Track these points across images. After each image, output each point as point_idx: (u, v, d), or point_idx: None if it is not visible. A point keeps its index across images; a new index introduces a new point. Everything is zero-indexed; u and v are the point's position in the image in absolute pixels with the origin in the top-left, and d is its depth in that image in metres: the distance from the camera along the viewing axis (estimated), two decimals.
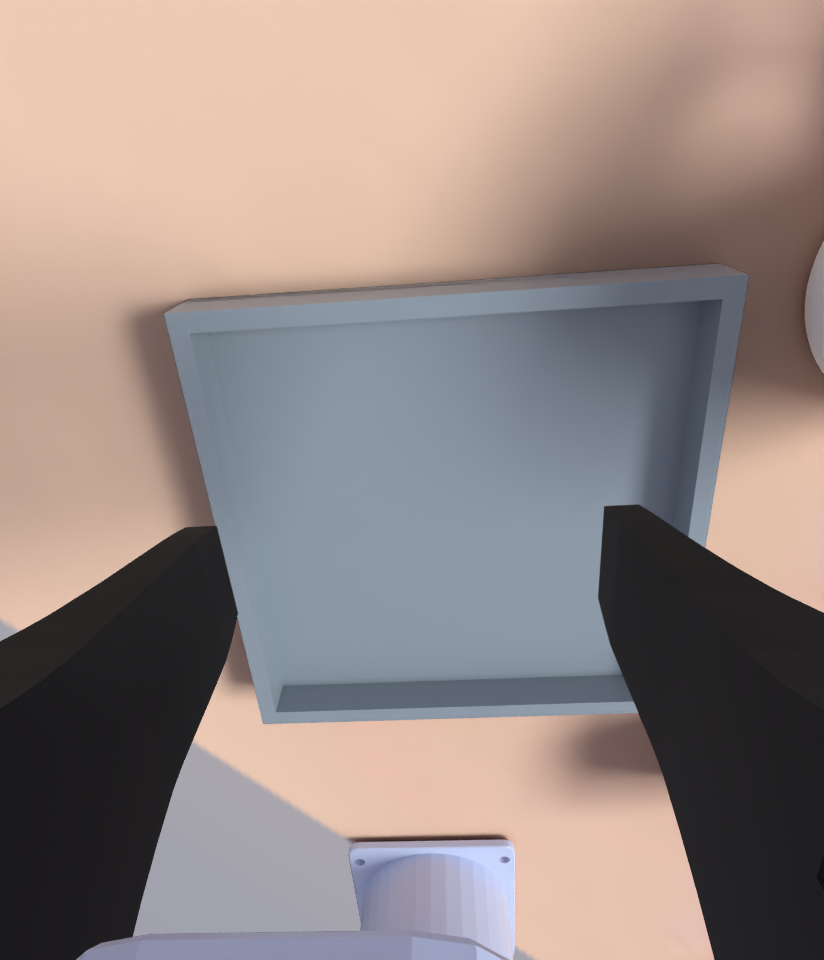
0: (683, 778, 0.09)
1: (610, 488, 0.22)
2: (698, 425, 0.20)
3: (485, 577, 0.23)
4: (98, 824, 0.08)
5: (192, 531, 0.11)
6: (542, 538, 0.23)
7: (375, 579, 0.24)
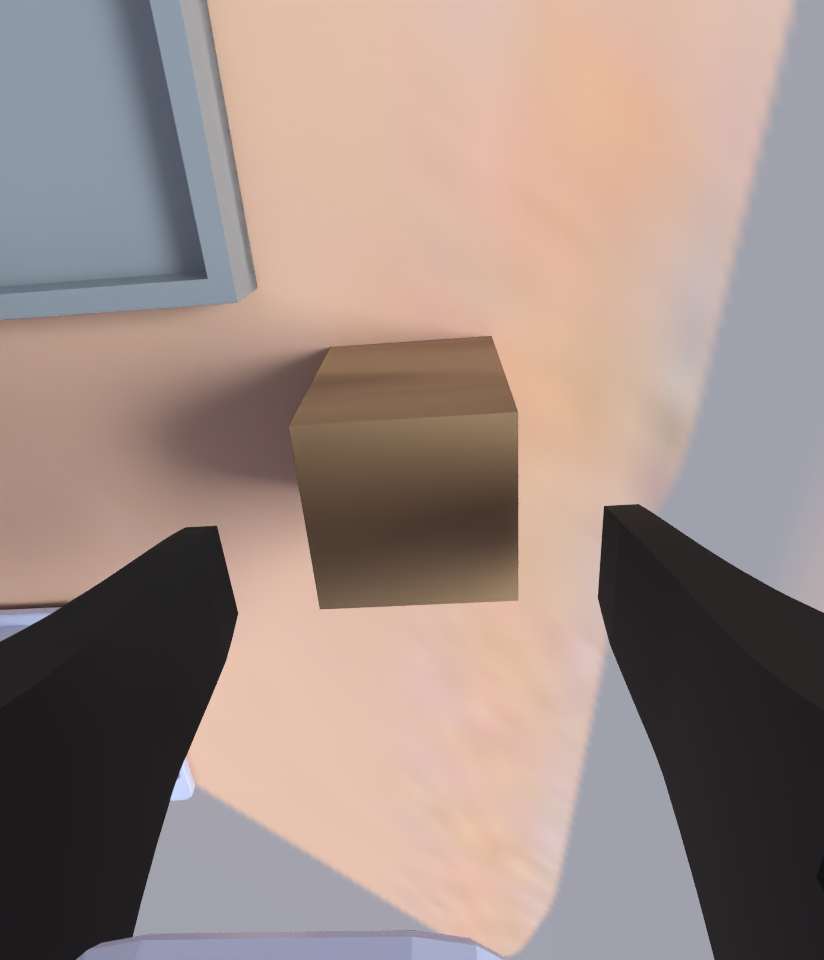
0: (683, 778, 0.09)
1: None
2: None
3: None
4: (98, 824, 0.08)
5: (192, 531, 0.11)
6: None
7: None
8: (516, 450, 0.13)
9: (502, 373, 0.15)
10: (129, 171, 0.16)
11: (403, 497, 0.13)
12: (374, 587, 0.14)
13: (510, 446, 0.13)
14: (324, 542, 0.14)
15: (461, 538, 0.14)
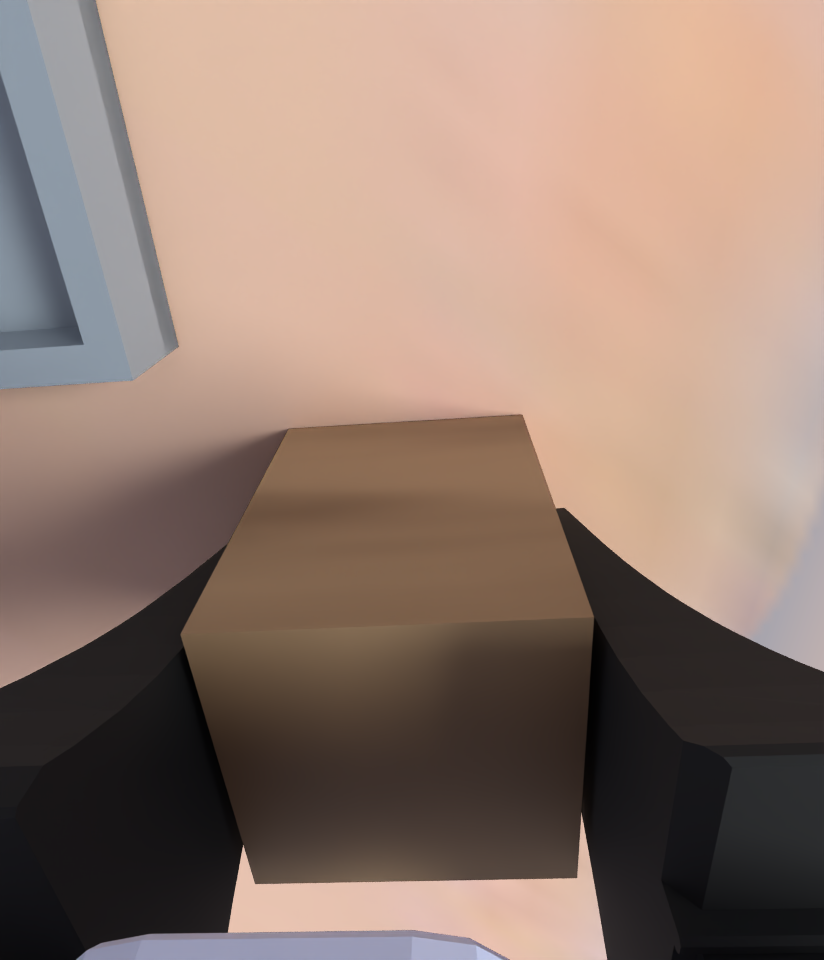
0: (585, 781, 0.09)
1: None
2: None
3: None
4: (200, 822, 0.08)
5: None
6: None
7: None
8: (587, 674, 0.07)
9: (550, 503, 0.09)
10: None
11: (388, 739, 0.08)
12: (342, 858, 0.09)
13: (577, 669, 0.07)
14: (256, 799, 0.08)
15: (486, 795, 0.08)
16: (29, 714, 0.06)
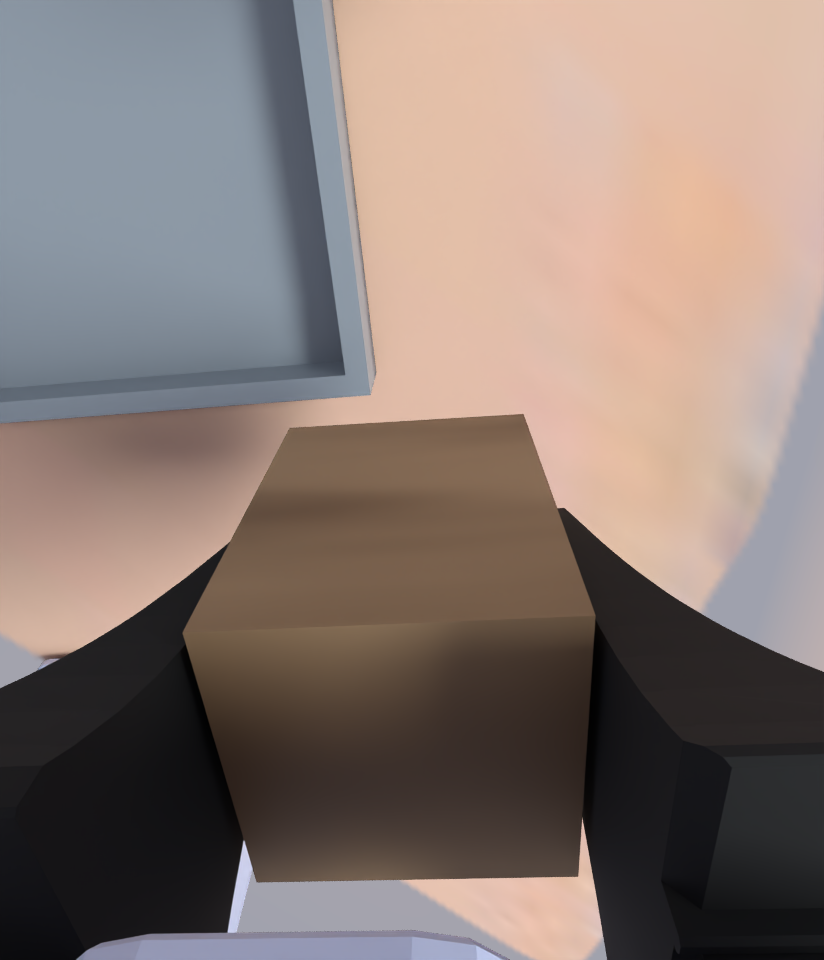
0: (586, 781, 0.09)
1: (208, 12, 0.15)
2: None
3: (77, 194, 0.17)
4: (200, 822, 0.08)
5: None
6: (135, 115, 0.16)
7: None
8: (588, 672, 0.07)
9: (551, 502, 0.09)
10: (271, 279, 0.17)
11: (390, 738, 0.08)
12: (343, 856, 0.09)
13: (579, 668, 0.07)
14: (258, 797, 0.08)
15: (486, 794, 0.08)
16: (28, 714, 0.06)
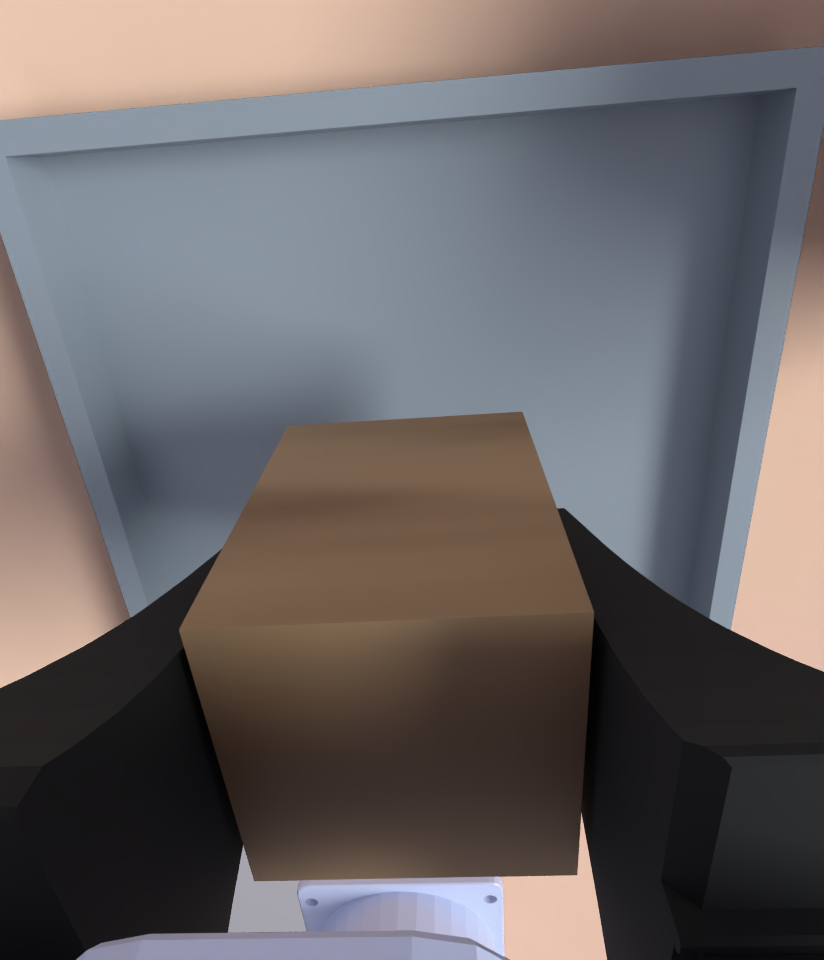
0: (586, 780, 0.09)
1: (624, 406, 0.16)
2: (751, 301, 0.14)
3: None
4: (200, 821, 0.08)
5: None
6: None
7: None
8: (587, 669, 0.07)
9: (550, 499, 0.09)
10: None
11: (388, 736, 0.08)
12: (341, 855, 0.09)
13: (577, 665, 0.07)
14: (255, 795, 0.08)
15: (485, 792, 0.08)
16: (28, 714, 0.06)
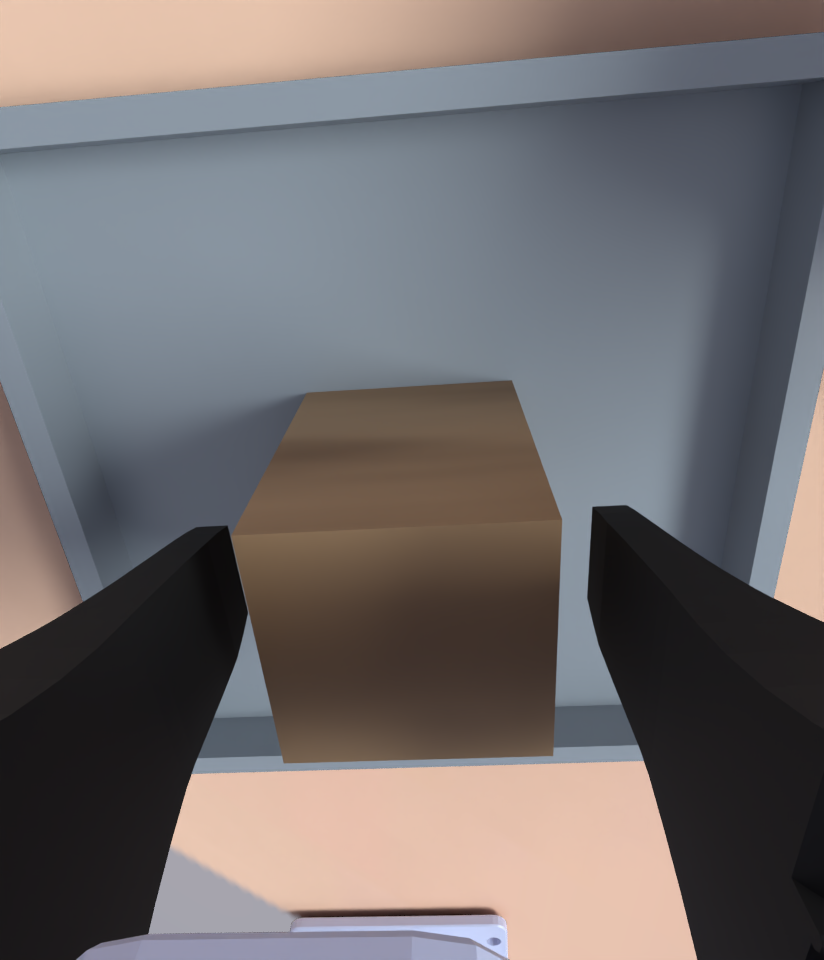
0: (668, 778, 0.09)
1: (643, 428, 0.14)
2: (789, 316, 0.12)
3: None
4: (114, 824, 0.08)
5: (203, 530, 0.11)
6: None
7: None
8: (558, 570, 0.09)
9: (532, 444, 0.11)
10: None
11: (397, 628, 0.09)
12: (357, 738, 0.10)
13: (549, 565, 0.09)
14: (287, 683, 0.10)
15: (477, 680, 0.10)
16: None
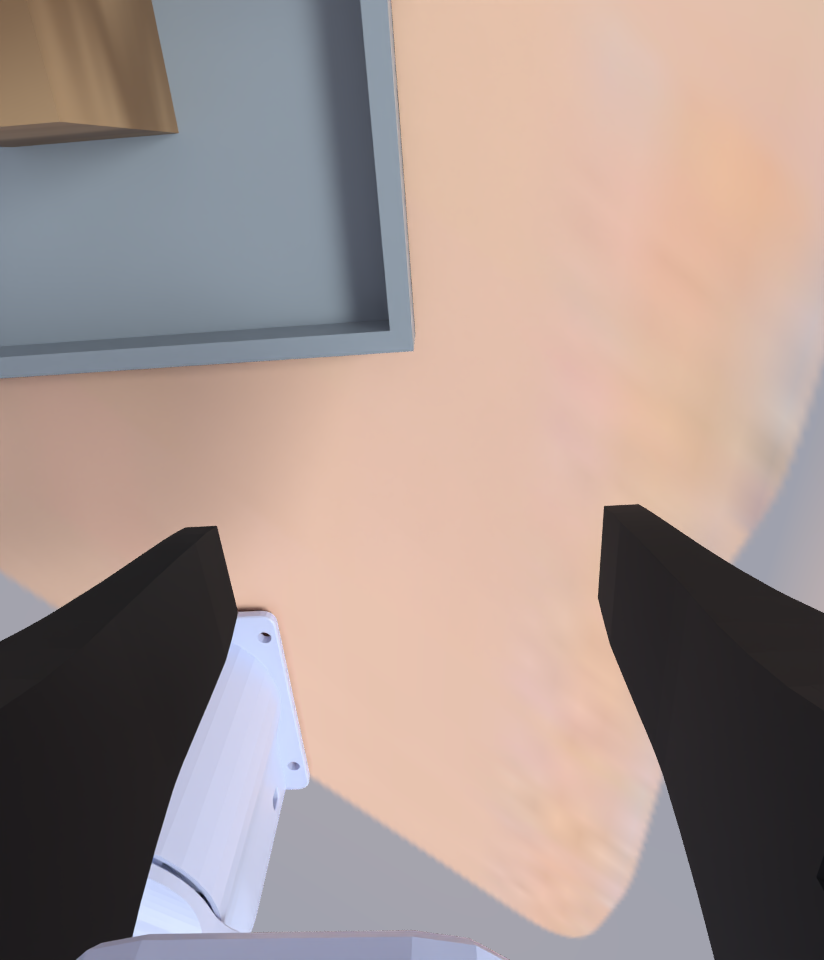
0: (683, 778, 0.09)
1: None
2: None
3: (131, 148, 0.17)
4: (98, 824, 0.08)
5: (192, 531, 0.11)
6: (192, 70, 0.16)
7: None
8: None
9: None
10: (318, 236, 0.18)
11: None
12: None
13: None
14: None
15: None
16: None
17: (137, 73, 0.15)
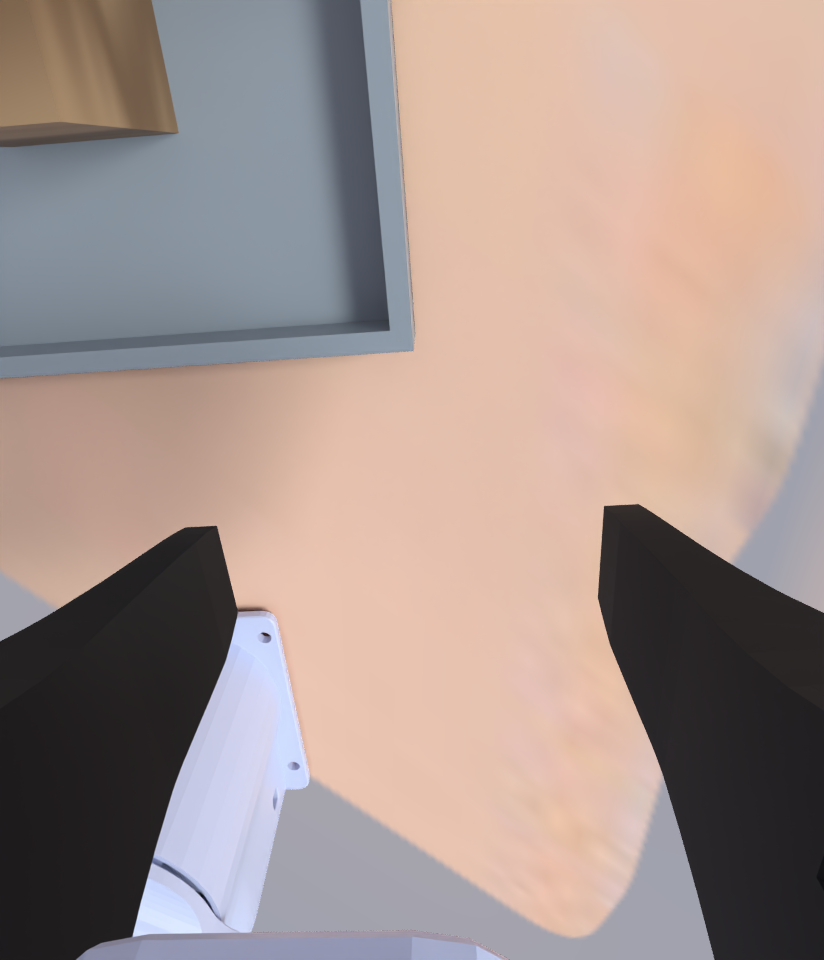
0: (683, 778, 0.09)
1: None
2: None
3: (131, 148, 0.17)
4: (98, 824, 0.08)
5: (192, 531, 0.11)
6: (192, 70, 0.16)
7: None
8: None
9: None
10: (318, 236, 0.18)
11: None
12: None
13: None
14: None
15: None
16: None
17: (137, 73, 0.15)
